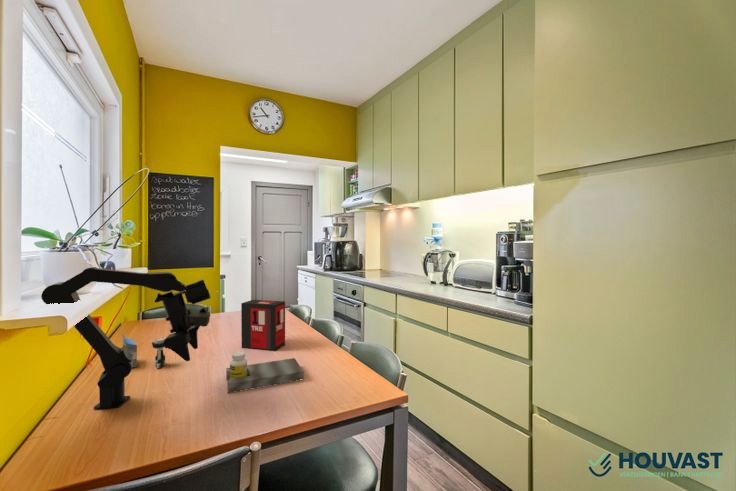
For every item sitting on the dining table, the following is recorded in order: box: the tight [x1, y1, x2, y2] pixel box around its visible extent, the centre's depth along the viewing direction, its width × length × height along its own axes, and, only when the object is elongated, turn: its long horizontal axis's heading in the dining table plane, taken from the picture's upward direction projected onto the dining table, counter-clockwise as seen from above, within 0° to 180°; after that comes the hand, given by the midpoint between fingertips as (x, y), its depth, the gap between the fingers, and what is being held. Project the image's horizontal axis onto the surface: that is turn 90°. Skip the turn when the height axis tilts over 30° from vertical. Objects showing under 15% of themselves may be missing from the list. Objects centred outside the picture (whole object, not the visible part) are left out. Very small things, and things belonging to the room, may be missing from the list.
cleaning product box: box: [240, 299, 286, 352], centre depth 150 cm, size 16×9×20 cm, turn 76°
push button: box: [151, 337, 166, 369], centre depth 127 cm, size 7×5×10 cm
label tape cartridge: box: [122, 331, 138, 369], centre depth 128 cm, size 9×4×12 cm, turn 41°
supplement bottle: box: [229, 351, 248, 379], centre depth 112 cm, size 5×5×10 cm
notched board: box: [225, 357, 305, 394], centre depth 116 cm, size 24×14×3 cm, turn 115°
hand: (192, 354), depth 109 cm, fingers open, 9 cm apart
